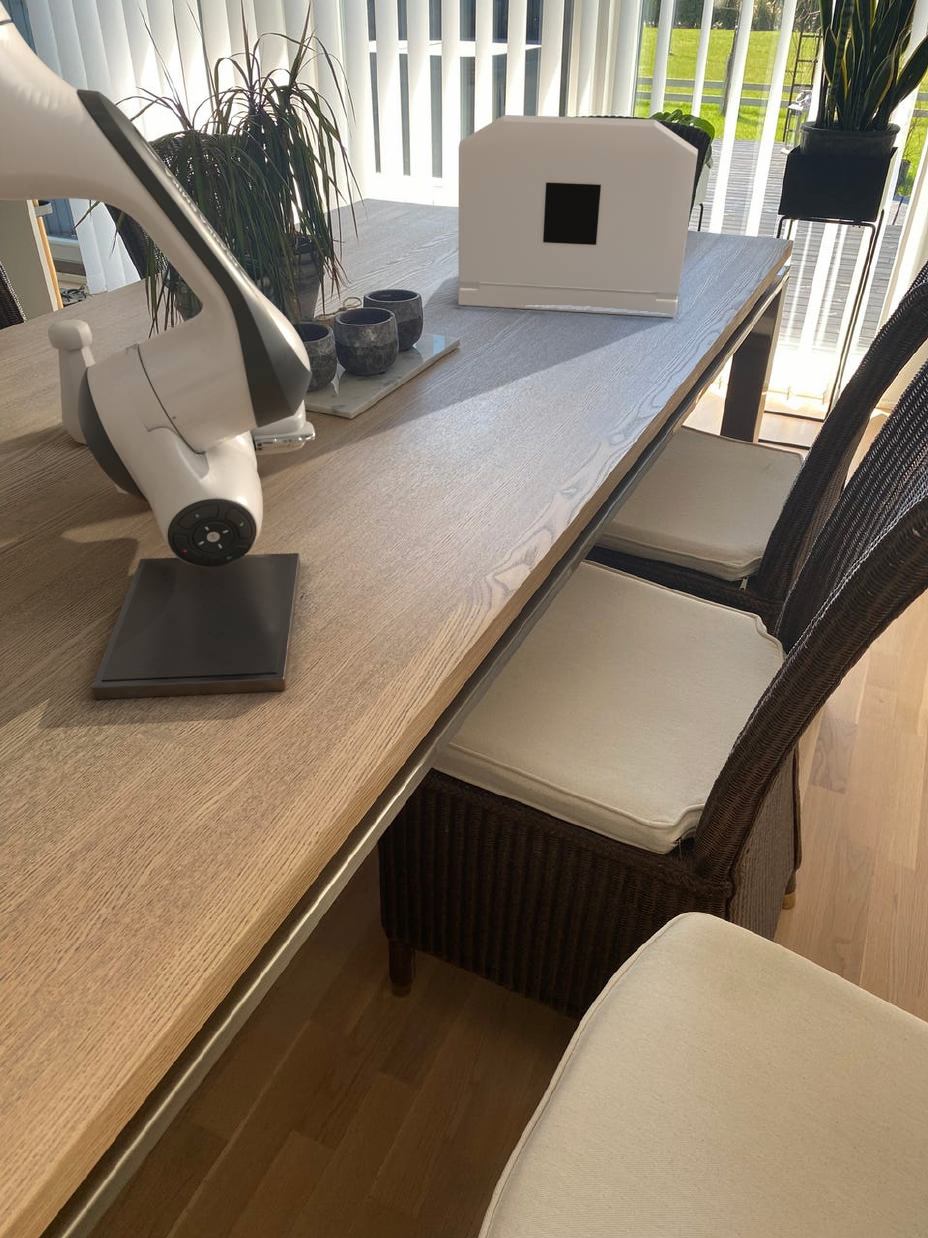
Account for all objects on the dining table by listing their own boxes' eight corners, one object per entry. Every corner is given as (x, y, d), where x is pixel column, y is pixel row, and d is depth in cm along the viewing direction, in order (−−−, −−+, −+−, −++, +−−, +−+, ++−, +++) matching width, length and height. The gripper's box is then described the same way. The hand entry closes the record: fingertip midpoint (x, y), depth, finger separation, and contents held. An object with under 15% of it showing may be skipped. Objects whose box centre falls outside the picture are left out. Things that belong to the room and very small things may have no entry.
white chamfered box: (675, 274, 162) (697, 99, 147) (675, 318, 143) (702, 122, 127) (482, 264, 167) (485, 93, 152) (458, 305, 147) (458, 114, 132)
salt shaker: (63, 449, 105) (33, 333, 97) (70, 428, 109) (41, 316, 102) (118, 445, 106) (92, 329, 98) (123, 424, 110) (98, 312, 103)
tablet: (94, 700, 70) (90, 686, 69) (142, 569, 85) (139, 557, 84) (285, 691, 71) (283, 677, 70) (300, 563, 86) (299, 551, 85)
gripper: (315, 410, 88) (298, 359, 99) (84, 431, 84) (93, 375, 95) (320, 471, 92) (304, 415, 103) (100, 495, 88) (107, 434, 99)
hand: (201, 396), depth 99 cm, fingers open, 8 cm apart
